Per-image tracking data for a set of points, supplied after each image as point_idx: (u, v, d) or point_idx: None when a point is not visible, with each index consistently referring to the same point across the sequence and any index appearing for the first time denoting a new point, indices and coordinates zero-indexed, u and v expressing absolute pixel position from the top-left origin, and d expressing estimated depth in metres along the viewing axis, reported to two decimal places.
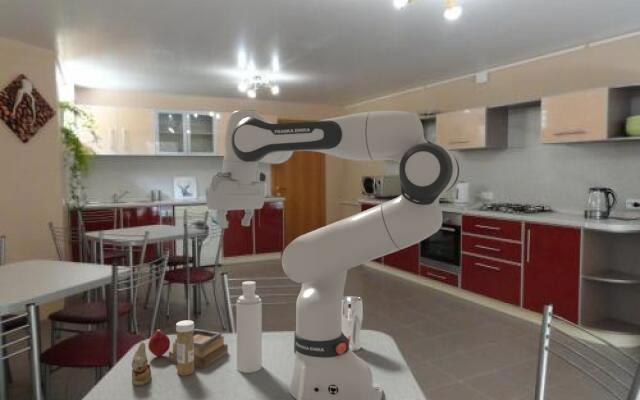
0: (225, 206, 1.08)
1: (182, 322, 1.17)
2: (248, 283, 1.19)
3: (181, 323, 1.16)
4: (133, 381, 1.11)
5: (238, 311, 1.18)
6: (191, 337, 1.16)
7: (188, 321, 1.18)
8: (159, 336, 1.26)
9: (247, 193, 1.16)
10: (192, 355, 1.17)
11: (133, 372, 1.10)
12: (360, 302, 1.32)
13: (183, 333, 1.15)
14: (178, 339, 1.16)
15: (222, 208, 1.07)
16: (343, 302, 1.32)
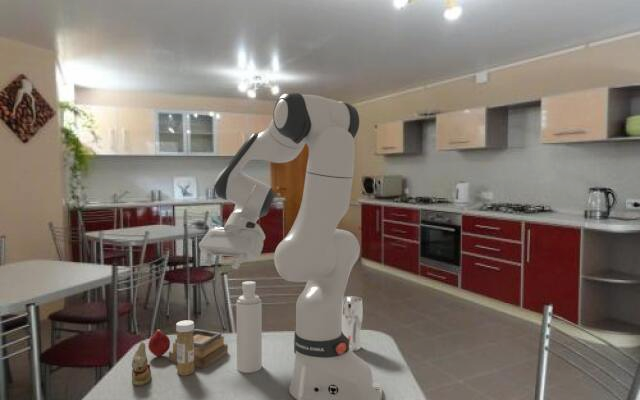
0: (206, 245, 1.36)
1: (182, 322, 1.17)
2: (248, 283, 1.19)
3: (181, 323, 1.16)
4: (133, 381, 1.11)
5: (238, 311, 1.18)
6: (191, 337, 1.16)
7: (188, 321, 1.18)
8: (159, 336, 1.26)
9: (236, 239, 1.35)
10: (192, 355, 1.17)
11: (133, 372, 1.10)
12: (360, 302, 1.32)
13: (183, 333, 1.15)
14: (178, 339, 1.16)
15: (202, 246, 1.36)
16: (343, 302, 1.32)
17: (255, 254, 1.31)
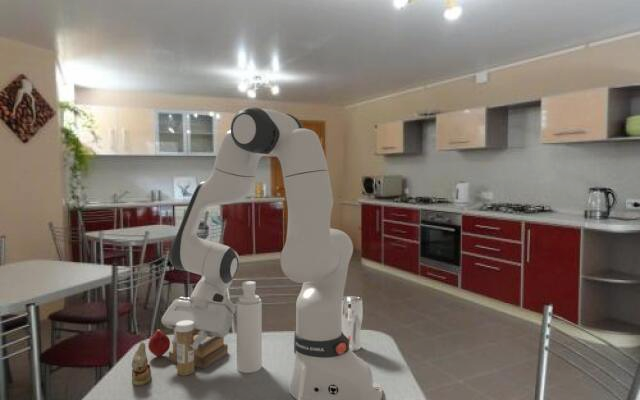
0: (169, 320, 1.22)
1: (182, 322, 1.17)
2: (248, 283, 1.19)
3: (181, 323, 1.16)
4: (133, 381, 1.11)
5: (238, 311, 1.18)
6: (191, 337, 1.16)
7: (188, 321, 1.18)
8: (159, 336, 1.26)
9: (202, 314, 1.20)
10: (192, 355, 1.17)
11: (133, 372, 1.10)
12: (360, 302, 1.32)
13: (183, 333, 1.15)
14: (178, 339, 1.16)
15: (165, 321, 1.22)
16: (343, 302, 1.32)
17: (223, 333, 1.16)
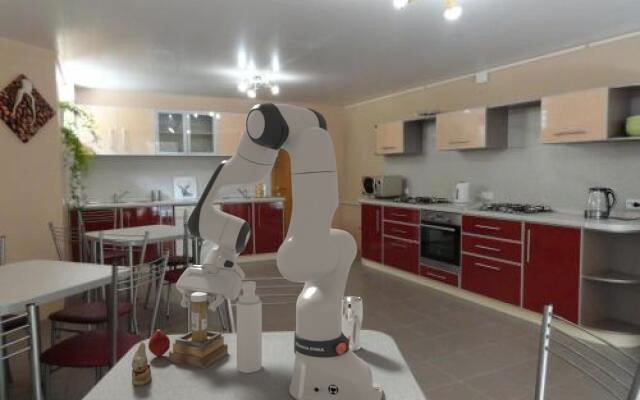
0: (183, 285, 1.31)
1: (196, 293, 1.27)
2: (248, 283, 1.19)
3: (195, 294, 1.26)
4: (133, 381, 1.11)
5: (238, 311, 1.18)
6: (204, 307, 1.26)
7: (202, 292, 1.28)
8: (159, 336, 1.26)
9: (214, 279, 1.30)
10: (205, 324, 1.26)
11: (133, 372, 1.10)
12: (360, 302, 1.32)
13: (197, 303, 1.25)
14: (193, 308, 1.25)
15: (179, 286, 1.31)
16: (343, 302, 1.32)
17: (233, 296, 1.26)
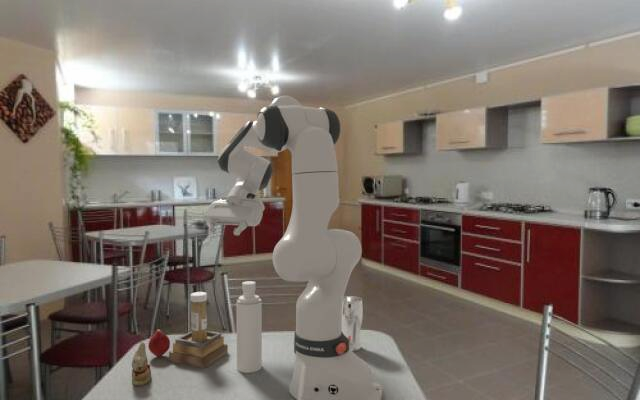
0: (210, 215, 1.47)
1: (196, 293, 1.27)
2: (248, 283, 1.19)
3: (195, 294, 1.26)
4: (133, 381, 1.11)
5: (238, 311, 1.18)
6: (204, 307, 1.26)
7: (201, 292, 1.28)
8: (159, 336, 1.26)
9: (237, 209, 1.46)
10: (205, 324, 1.26)
11: (133, 372, 1.10)
12: (360, 302, 1.32)
13: (197, 303, 1.25)
14: (192, 308, 1.25)
15: (206, 216, 1.47)
16: (343, 302, 1.32)
17: (255, 222, 1.42)
